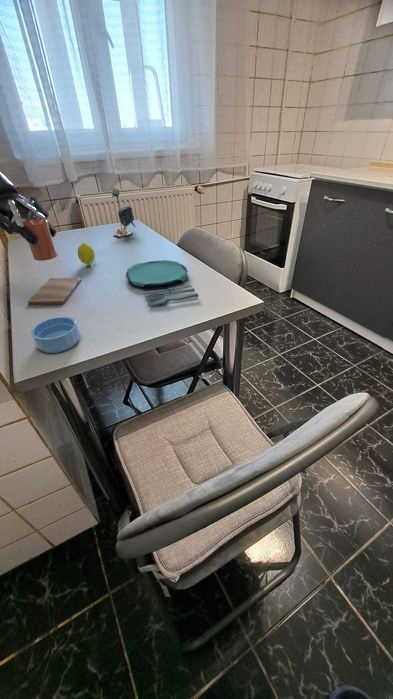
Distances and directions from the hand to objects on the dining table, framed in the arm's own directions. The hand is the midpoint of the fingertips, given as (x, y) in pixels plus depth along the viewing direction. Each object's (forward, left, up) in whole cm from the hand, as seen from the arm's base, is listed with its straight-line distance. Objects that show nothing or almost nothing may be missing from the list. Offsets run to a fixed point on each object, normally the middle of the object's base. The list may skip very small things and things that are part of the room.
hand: (45, 238), depth 72 cm
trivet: (+2, +10, -18) cm, 21 cm away
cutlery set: (+26, -10, -18) cm, 34 cm away
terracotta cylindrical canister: (-1, +2, -5) cm, 5 cm away
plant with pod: (+52, +44, -18) cm, 70 cm away
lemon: (+20, +22, -18) cm, 35 cm away
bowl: (-10, -16, -18) cm, 26 cm away
